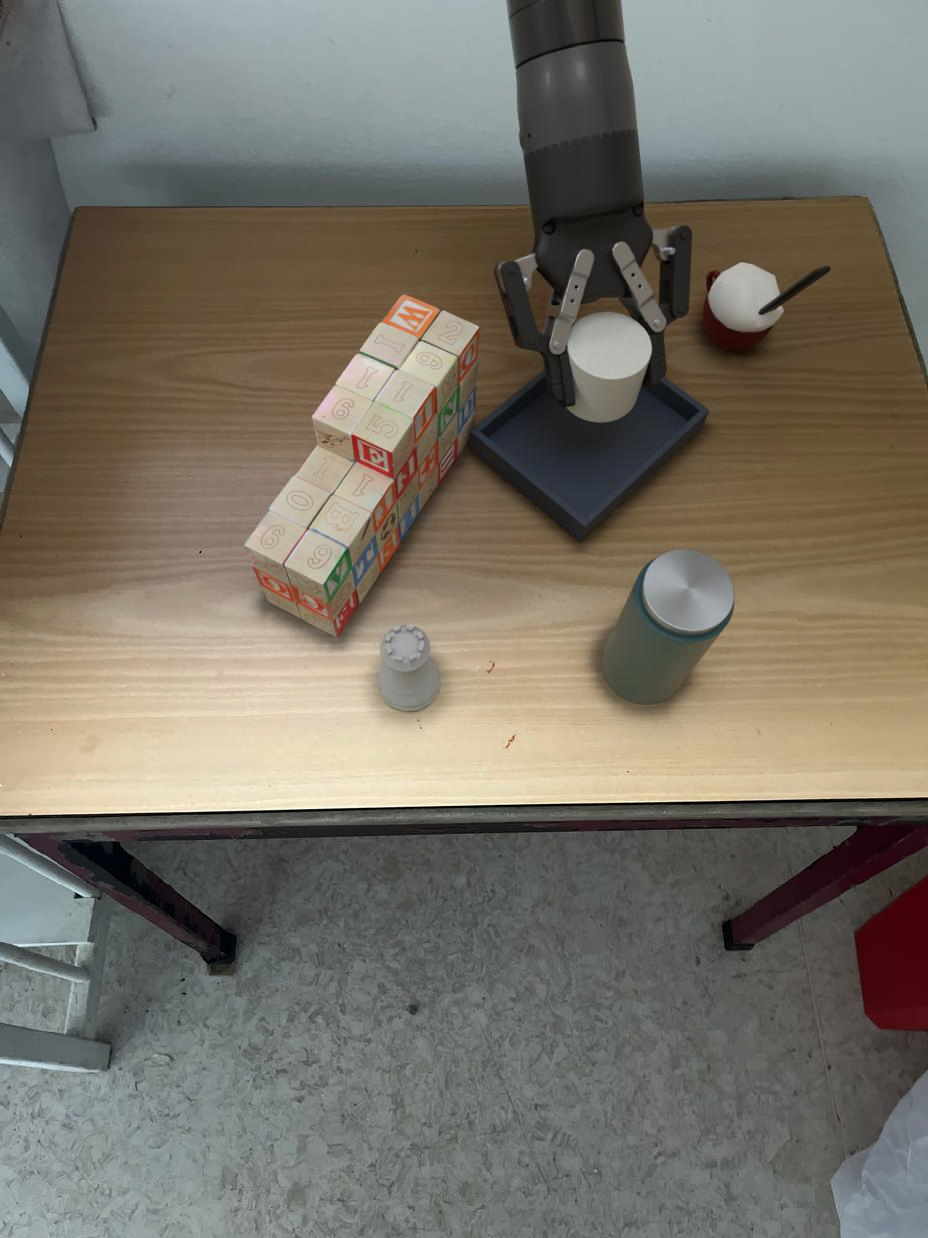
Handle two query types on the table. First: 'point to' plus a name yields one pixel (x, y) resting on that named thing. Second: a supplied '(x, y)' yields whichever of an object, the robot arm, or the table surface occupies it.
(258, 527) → the stack of blocks
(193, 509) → the table surface
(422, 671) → the rook chess piece
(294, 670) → the table surface
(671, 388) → the tray
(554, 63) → the robot arm
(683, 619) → the green metal cylinder
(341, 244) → the table surface
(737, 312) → the cocoa
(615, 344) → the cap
